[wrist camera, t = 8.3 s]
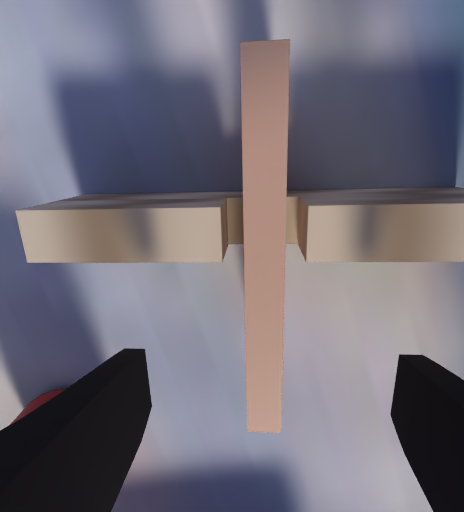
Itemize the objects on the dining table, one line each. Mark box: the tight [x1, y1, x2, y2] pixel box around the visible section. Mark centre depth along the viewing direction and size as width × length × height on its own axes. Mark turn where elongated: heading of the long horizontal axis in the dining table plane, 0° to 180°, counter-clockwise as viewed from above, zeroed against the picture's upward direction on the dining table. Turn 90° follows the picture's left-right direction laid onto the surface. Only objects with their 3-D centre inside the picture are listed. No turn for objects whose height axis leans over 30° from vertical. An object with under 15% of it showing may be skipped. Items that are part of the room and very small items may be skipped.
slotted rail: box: [16, 187, 464, 263], centre depth 14 cm, size 18×2×5 cm, turn 92°
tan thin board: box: [240, 39, 290, 433], centre depth 13 cm, size 1×12×7 cm, turn 1°
